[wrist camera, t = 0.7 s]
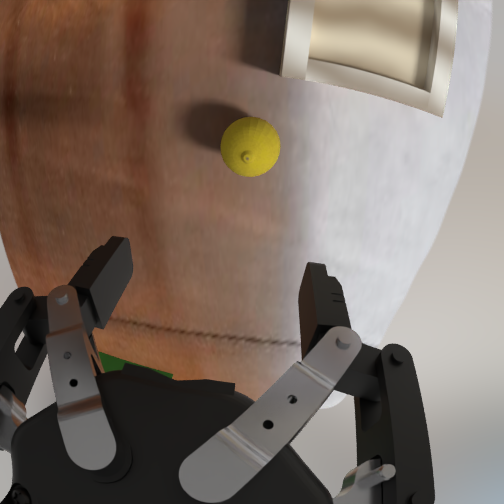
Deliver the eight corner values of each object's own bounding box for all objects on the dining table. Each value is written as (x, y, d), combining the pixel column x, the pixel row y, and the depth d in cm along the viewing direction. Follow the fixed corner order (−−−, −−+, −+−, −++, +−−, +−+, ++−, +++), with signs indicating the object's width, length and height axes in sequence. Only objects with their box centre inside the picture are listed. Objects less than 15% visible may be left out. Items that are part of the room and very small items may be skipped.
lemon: (218, 122, 29) (203, 140, 22) (268, 104, 27) (269, 116, 21) (237, 167, 32) (228, 197, 25) (285, 151, 30) (290, 178, 24)
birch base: (293, -52, 16) (298, -72, 12) (433, -10, 17) (458, -16, 12) (279, 75, 26) (281, 76, 21) (418, 108, 26) (442, 117, 21)
